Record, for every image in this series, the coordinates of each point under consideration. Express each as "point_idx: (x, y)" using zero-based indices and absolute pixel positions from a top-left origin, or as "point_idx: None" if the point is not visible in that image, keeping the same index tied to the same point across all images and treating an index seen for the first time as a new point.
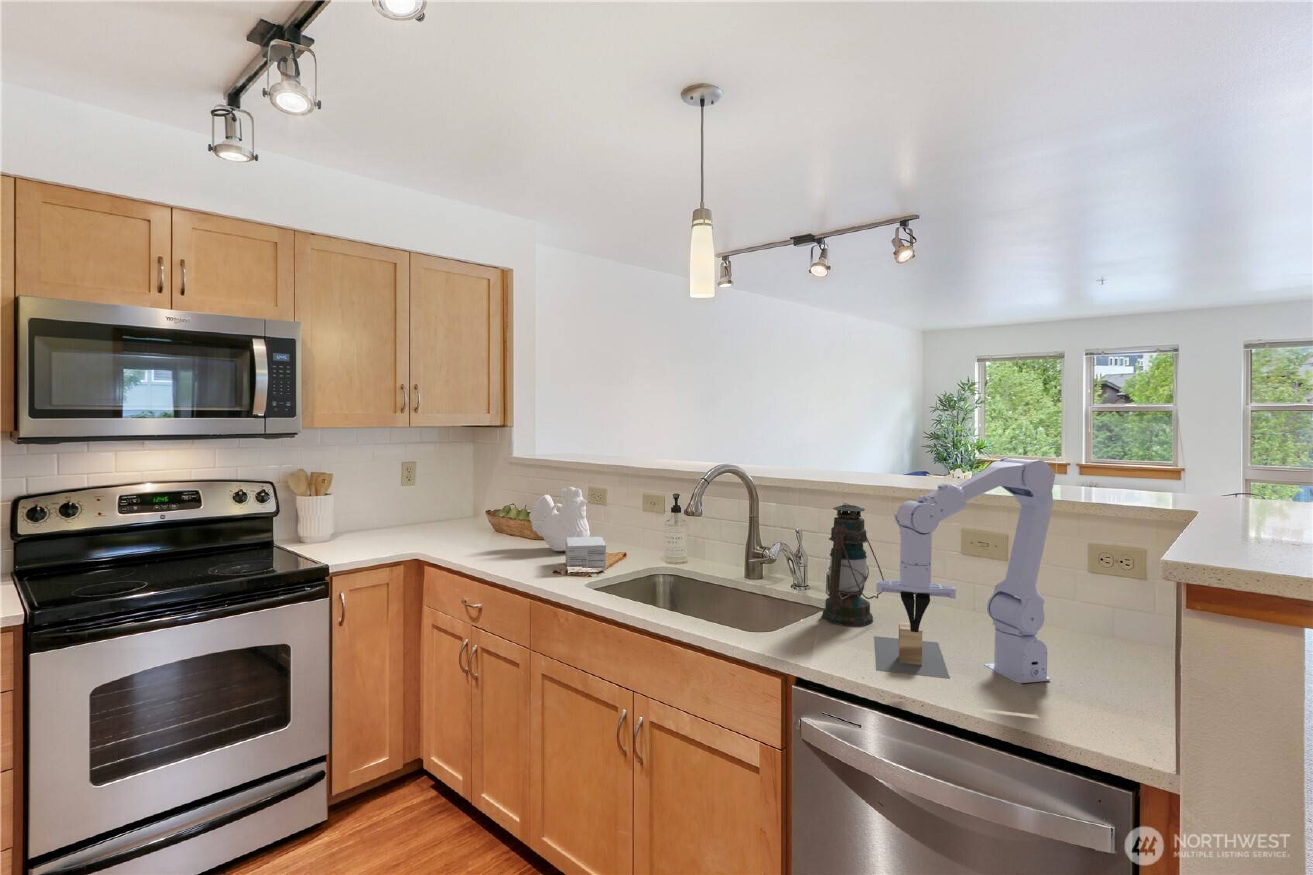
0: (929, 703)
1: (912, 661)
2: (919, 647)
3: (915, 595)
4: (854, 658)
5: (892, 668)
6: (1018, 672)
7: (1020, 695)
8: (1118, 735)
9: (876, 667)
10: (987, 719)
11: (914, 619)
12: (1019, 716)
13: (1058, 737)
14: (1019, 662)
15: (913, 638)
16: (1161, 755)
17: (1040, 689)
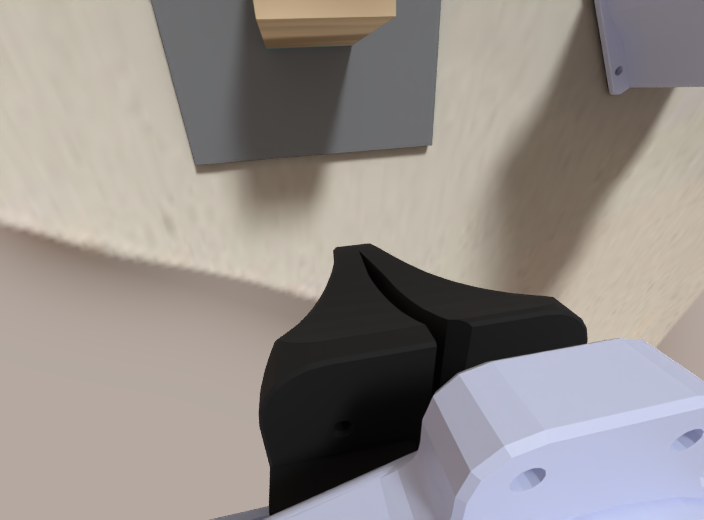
0: None
1: (318, 44)
2: (356, 34)
3: (440, 369)
4: (55, 12)
5: (247, 121)
6: (650, 74)
7: (578, 177)
8: (651, 295)
9: (189, 134)
10: None
11: (366, 262)
12: (525, 293)
13: None
14: (689, 77)
15: (334, 27)
16: (663, 333)
17: (650, 110)
